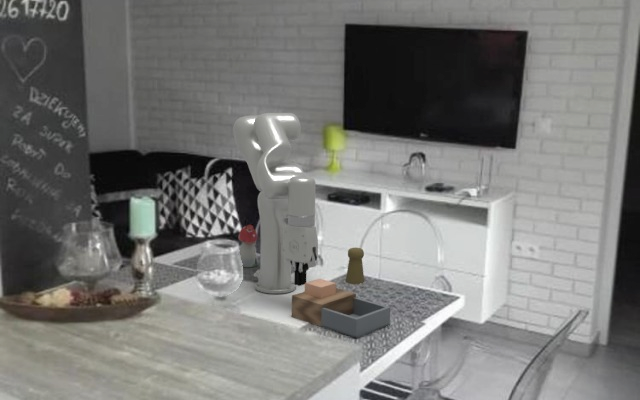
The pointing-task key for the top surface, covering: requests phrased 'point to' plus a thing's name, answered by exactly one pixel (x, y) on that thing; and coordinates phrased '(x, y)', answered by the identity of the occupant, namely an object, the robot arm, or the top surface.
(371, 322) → the box
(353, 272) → the cork
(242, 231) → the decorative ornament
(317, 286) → the terracotta block
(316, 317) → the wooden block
